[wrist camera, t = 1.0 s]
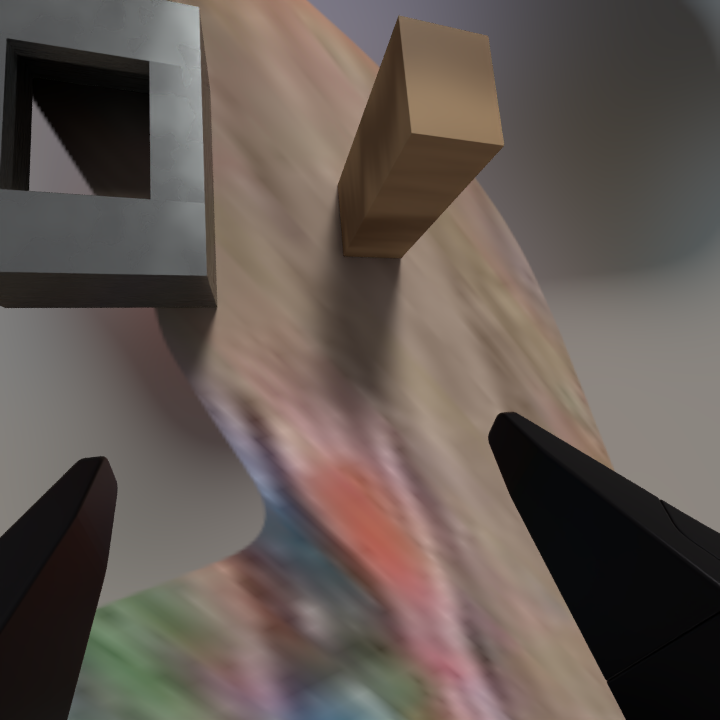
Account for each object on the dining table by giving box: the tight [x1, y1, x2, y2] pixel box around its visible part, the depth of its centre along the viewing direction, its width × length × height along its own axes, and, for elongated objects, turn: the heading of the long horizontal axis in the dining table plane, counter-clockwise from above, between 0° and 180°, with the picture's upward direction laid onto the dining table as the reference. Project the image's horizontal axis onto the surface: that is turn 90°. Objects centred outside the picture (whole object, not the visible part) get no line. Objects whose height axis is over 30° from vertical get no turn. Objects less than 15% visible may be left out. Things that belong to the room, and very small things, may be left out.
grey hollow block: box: [0, 0, 217, 308], centre depth 19 cm, size 14×10×5 cm
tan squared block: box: [338, 16, 504, 258], centre depth 20 cm, size 5×4×11 cm
